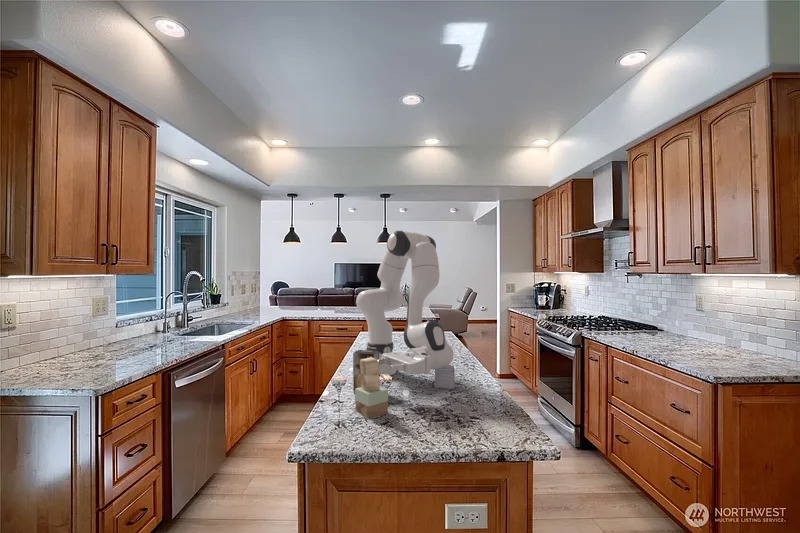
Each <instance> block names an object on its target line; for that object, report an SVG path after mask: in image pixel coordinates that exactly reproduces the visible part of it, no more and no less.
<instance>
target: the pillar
mask: <svg viewBox="0 0 800 533" xmlns="http://www.w3.org/2000/svg"><path fill="white" fill-rule="evenodd" d="M360 368H361V386H362V389H363V390H365V391H367V392H370V391H374V390H378V389H380V387H381V386H380V376H379V365H378V359H375V358H372V357H370V358H366V359H361V360H360Z"/></svg>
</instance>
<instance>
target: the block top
mask: <svg viewBox="0 0 800 533" xmlns="http://www.w3.org/2000/svg"><path fill="white" fill-rule="evenodd" d="M354 400H355V402H356V401H358V402H360V403H362V404H364V405H366V406H373V405H376V404H380V403H384V402H389V389H387V388H386V387H382V386H380V389H378V390H374V391H370V392H367V391H365V390H363V389H362V387H360V388H355V394H354Z"/></svg>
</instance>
